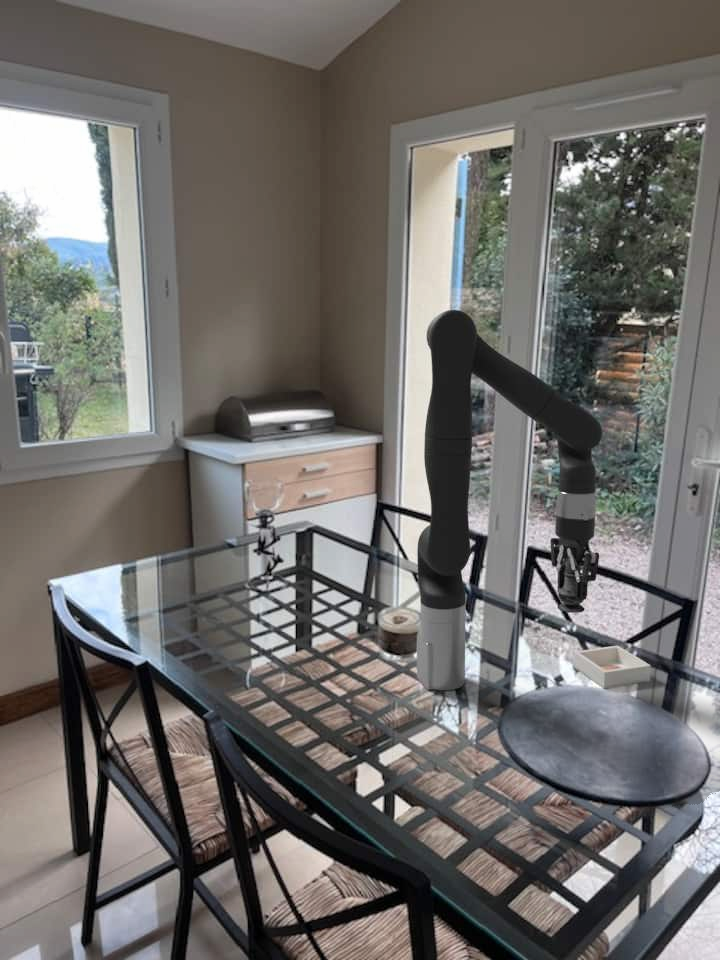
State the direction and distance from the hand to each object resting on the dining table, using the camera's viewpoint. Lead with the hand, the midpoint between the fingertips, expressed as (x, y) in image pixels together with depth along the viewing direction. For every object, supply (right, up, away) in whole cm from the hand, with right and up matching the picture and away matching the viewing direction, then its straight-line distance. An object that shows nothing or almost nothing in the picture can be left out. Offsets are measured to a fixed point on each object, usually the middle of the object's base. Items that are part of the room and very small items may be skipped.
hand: (571, 594), depth 146 cm
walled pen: (+10, -18, +6) cm, 21 cm away
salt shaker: (0, -3, +1) cm, 3 cm away
